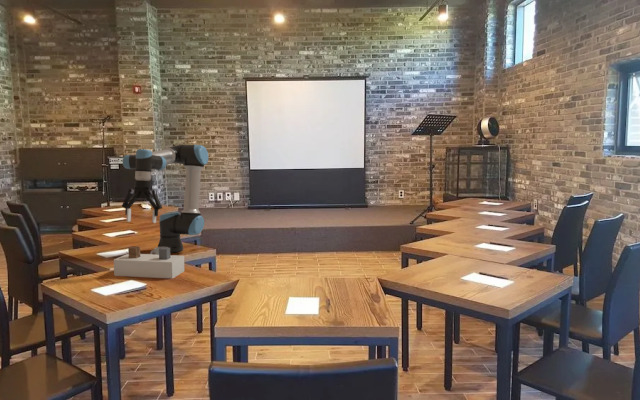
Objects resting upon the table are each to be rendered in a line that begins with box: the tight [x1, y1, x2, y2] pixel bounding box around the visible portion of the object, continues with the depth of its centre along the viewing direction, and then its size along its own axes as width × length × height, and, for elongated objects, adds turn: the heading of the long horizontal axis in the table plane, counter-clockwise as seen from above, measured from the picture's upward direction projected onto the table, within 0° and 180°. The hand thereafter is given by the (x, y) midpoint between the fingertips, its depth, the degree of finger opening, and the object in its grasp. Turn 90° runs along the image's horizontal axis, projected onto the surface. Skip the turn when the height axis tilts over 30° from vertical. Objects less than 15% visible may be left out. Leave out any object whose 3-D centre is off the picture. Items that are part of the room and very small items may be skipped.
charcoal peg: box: [159, 248, 171, 260], centre depth 236 cm, size 4×4×7 cm
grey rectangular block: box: [113, 253, 185, 279], centre depth 237 cm, size 14×30×8 cm, turn 82°
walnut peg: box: [128, 245, 141, 258], centre depth 238 cm, size 4×4×7 cm
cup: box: [149, 246, 168, 255], centre depth 256 cm, size 7×10×9 cm
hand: (141, 222), depth 240 cm, fingers open, 13 cm apart
